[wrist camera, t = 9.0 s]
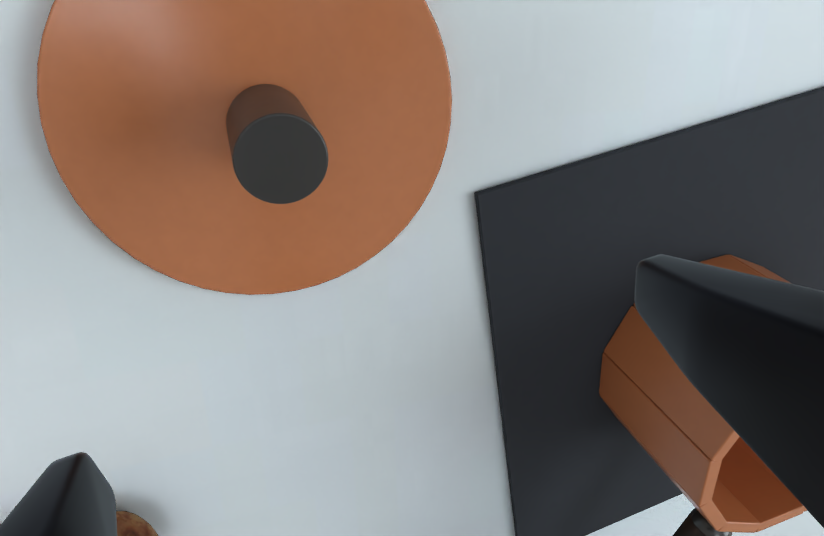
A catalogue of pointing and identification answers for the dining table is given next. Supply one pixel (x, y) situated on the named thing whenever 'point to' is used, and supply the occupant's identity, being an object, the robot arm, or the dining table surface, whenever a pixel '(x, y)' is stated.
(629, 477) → the placemat
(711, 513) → the pot
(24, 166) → the dining table surface
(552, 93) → the dining table surface
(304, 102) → the pot lid
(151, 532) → the brown cassava root
